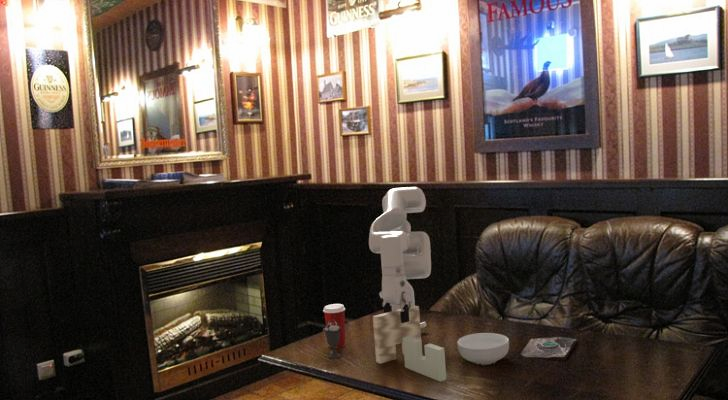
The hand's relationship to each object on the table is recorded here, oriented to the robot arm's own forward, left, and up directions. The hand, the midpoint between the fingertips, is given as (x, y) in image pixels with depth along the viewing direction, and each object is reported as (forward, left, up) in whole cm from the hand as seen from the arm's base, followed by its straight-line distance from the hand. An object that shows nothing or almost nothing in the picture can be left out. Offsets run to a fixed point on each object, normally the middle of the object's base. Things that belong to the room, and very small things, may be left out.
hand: (396, 319), depth 226 cm
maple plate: (0, 0, -13) cm, 13 cm away
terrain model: (-40, +31, -14) cm, 53 cm away
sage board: (+4, +19, -13) cm, 23 cm away
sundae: (+16, -17, -13) cm, 27 cm away
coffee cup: (+9, -27, -13) cm, 32 cm away
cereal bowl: (-17, +24, -13) cm, 32 cm away
